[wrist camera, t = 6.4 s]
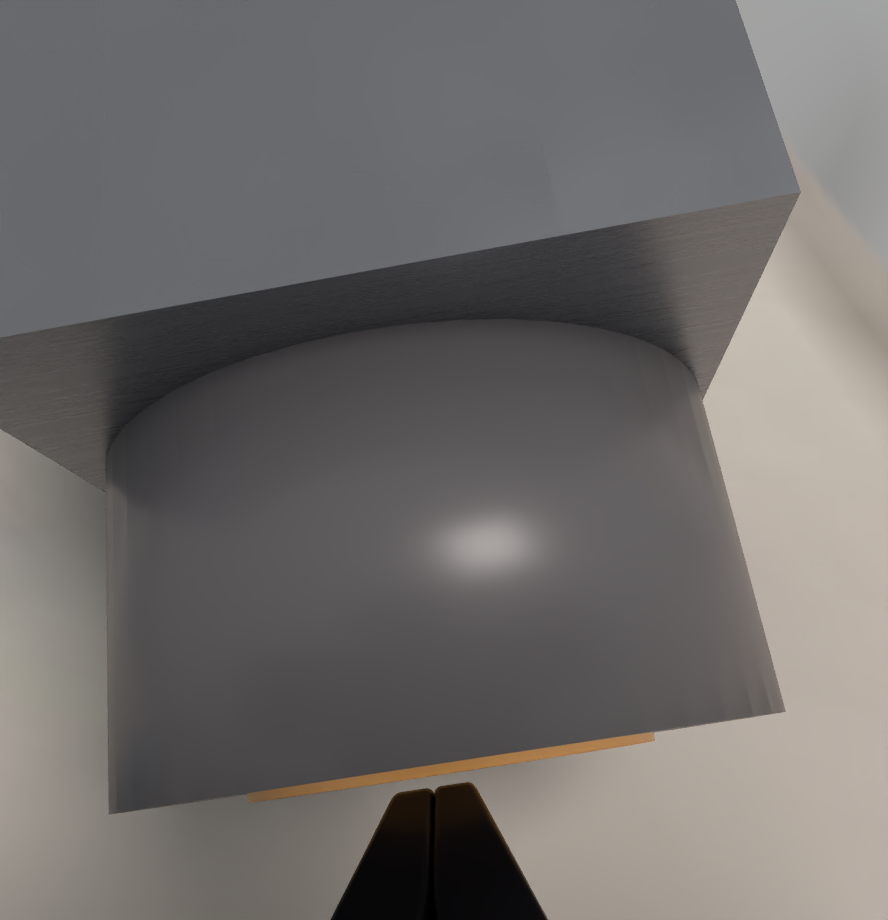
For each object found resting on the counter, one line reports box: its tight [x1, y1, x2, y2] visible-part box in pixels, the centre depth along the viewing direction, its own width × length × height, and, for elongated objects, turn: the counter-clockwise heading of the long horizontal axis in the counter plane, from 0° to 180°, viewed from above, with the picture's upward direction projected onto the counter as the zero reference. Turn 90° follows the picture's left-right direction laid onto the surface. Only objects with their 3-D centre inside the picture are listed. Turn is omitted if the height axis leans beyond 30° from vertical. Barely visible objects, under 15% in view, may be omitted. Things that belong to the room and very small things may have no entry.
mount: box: [0, 0, 801, 492], centre depth 14 cm, size 8×10×11 cm
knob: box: [106, 319, 786, 814], centre depth 13 cm, size 13×8×8 cm, turn 8°
